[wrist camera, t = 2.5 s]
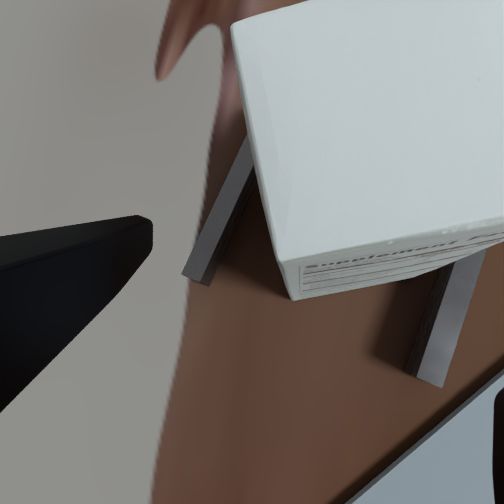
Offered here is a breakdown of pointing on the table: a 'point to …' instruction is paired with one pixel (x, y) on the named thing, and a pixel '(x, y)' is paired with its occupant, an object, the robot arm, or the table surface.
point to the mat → (444, 460)
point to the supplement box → (375, 135)
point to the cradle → (437, 310)
